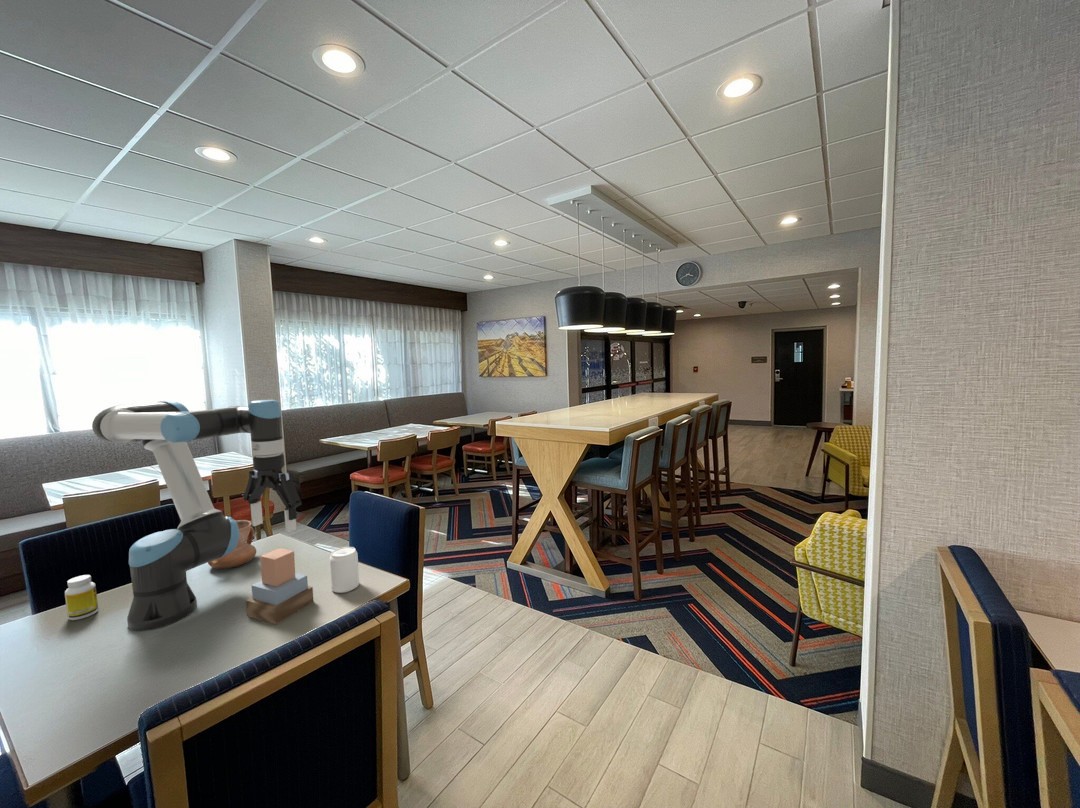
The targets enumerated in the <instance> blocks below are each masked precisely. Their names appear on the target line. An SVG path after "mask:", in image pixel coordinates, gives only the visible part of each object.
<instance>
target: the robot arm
mask: <svg viewBox="0 0 1080 808" xmlns="http://www.w3.org/2000/svg"><path fill="white" fill-rule="evenodd" d="M282 416H283V414H282V410H281V405H280V402H279V400H276V399H258V400H252V401H251V400H250V401H249V403H248V406H241V405H233V406H232V405H230V406H225V407H223V408H214V409H205V410H194V411H193V410H191V411H190V409H188V408H187V406H185V405H184V404H182V403H180V402H178V401H165V400H163V401H155V402H143V403H132V404H130V403H129V404H119V405H115V406H111V407H108V408H106V409H104V410H101V411H100V412H99V413H98V414H97V415H96V416H95V417H94V419H93V421H92V424H91V425H92V426H91V427H92V431H93V433H94V435H95V436H96V437H97V438H98V439H99V440H101V441H103V442H107V443H109V444H110V443H112V444H127V443H136V442H141V443H142V445H143V449H145V450H147V451H151V452H152V454H153V456H154V458H155V460H156V461H155V462H156V463H157V465H158V468H159V470H160V474H161V475H162V477H163V480H164V482H165V485H166V486H167V489H168V492H169V494H170V497H171V499H172V501H173V504H174V506H175V509H176V512H177V514H178V516H179V519H180V523H179V524H178V526H177V528H170V529H165V530H163V531H162V530H161V531H157V532H153V533H151V534H148V535H145V536H143V537H142V538H140V539H138V540H136V541H135V542H134V543H132V545H131V546H130V548H129V551H128V565H129V570H130V572H129V573H130V578H131V586H132V596H133V597H132V601H131V605H130V607H129V611H128V615H127V620H126V621H127V627H128V629H130V630H131V631H137V632H138V631H150V630H155V629H159V628H161V627H162V628H163V627H166V626H168V625H172V624H174V623H177V622H178V621H181V620H182V619H185V618H186V617H188V616H189V615H191V614H192V613H193V612H195V610H196V609H197V607H198V601H197V597H196V595H195V593H194V591H193V590H192V589H191V587H190V585H189V583H188V580H187V572H188V571H190V570H192V569H195V568H197V567H200V566H203V565H205V564H208V562H210V561H212V560H215V559H219V558H221V557H223V556H224V555H226V554H229V553H230V552H232V551H233V550H234V549H235V548H236V546H237V544H238V541H239V528H238V525H237V523H236V521H235V519H234V518H233V517H231V516H225V515H224V514H223V511H222V510H220V509H216V508H215V506H214V505H213V503H212V499H211V497H210V495H209V493H208V491H207V488H206V486H205V483H204V480H203V479H202V476H201V474H200V471H199V469H198V467H197V464H196V462H195V459H194V456H193V454H192V452H191V450H190V448H189V445H188V443H187V442H192V441H197V440H204V439H208V438H217V437H222V436H228V435H234V434H236V435H237V434H242V433H243V434H250V441H251V451H252V456H253V458H252V463H253V466H252V467H253V470H252V469H251V470H249V471H248V480H247V484H246V489H245V492H244V496H243V500H244V501H245V502H247V503H248V504H249V509H250V515H251V527H256V526H258V525H262V524H264V522H263V521H264V520H263V508H262V501H261V497H262V495H263V494H264V492H265V491H266V488H268V489H272V490H273V491H275V492H276V494H277V495H278V497H279V498H280V500H281V502H282V503H283V505H284V506H285V508H284V510H283V511H284V524H285V526H284V527H285V532H286V533H290V532H293V531H295V530H297V507H299V506H302V505H303V504H302V503H303V502H302V500H301V497H300V496H299V493H298V490H297V488H296V485H295V484H294V482H293V478H292V477H293V476H292V473H291V472H290V471H289V472H284V473H283V468H284V467H285V454H283V452H285V449H284V448H285V447H284V438H283V426H282V425H283V422H282V420H283V419H282Z"/></svg>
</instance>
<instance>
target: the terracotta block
mask: <svg viewBox="0 0 1080 808" xmlns="http://www.w3.org/2000/svg"><path fill="white" fill-rule="evenodd" d="M259 559H260V569H261V570H260V571H261V581H262V583H264V584H268V585H271V586H275V587H277V586H279V585H281V584H283V583H285V582H287V581H289V580H291V579H293V578H295V573H296V564H295V551H294V550H290V549H286V548H281V547H279V548H277V549H274V550H271V551H269V552H266V553H264V554H262V555H260V558H259Z"/></svg>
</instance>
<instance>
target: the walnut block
mask: <svg viewBox="0 0 1080 808" xmlns="http://www.w3.org/2000/svg"><path fill="white" fill-rule="evenodd" d="M313 603H314V588H313V586H309V585H308V589H306V590H304V591H302V592H300V593H298V594H297V595H295V596H293V597H291V598H289V599H287V600H286V601H284V602H282V603H280V604H278V605H277V606H276V605H273V604H269V603H266V602H262V601H259V600H256V599H253V596H251V597H249V598H247V599H246V600H245V605H246V616H247V617H251V618H254V619H257V620H261V621H263V622H268V623H271V624H274V625H278V624H280V623H281V622H283V621H284V620H286V619H287V618H289V617H291V616H293V615H294V614H297V612H300V611H301V610H303V609H304V608H306V607H308V606H310V605H312V604H313Z"/></svg>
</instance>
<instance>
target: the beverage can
mask: <svg viewBox="0 0 1080 808" xmlns="http://www.w3.org/2000/svg"><path fill="white" fill-rule="evenodd" d="M358 558H359V557H358V551H357V550H356V548H355V547H354V546H344V547H343V546H342V547H339V548H336V549H334V550H333V551H331V552H330V556H329V568H330V572H329V573H330V583H331V591H333V593H334V592H335V593H339V594H340V593H341V594H342V593H343V594H344V593H348V592H351V591H353V590H354V589H356V588H358V586H359V585H360V572H359V571H360V570H359V559H358Z"/></svg>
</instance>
